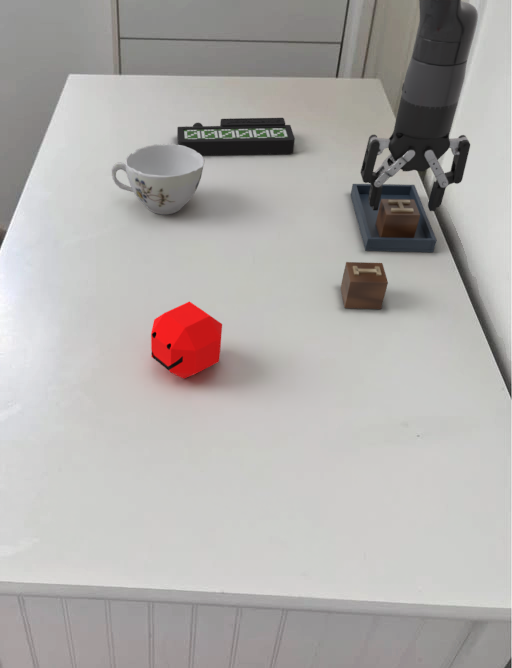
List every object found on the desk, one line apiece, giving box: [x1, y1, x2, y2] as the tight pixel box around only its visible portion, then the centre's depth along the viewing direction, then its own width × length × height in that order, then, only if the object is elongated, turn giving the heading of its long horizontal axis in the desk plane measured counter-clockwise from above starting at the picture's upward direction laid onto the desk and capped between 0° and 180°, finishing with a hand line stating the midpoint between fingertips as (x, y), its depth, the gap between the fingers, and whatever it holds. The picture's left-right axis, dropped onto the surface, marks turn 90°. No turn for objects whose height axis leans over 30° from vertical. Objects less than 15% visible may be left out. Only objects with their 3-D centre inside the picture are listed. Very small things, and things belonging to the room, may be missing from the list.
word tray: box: [350, 183, 437, 253], centre depth 114 cm, size 10×18×2 cm, turn 176°
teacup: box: [111, 143, 205, 216], centre depth 117 cm, size 15×12×8 cm
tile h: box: [376, 199, 420, 238], centre depth 110 cm, size 5×5×4 cm
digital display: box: [176, 117, 296, 157], centre depth 135 cm, size 21×3×10 cm
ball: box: [150, 301, 223, 380], centre depth 88 cm, size 8×8×8 cm
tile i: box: [340, 261, 389, 310], centre depth 99 cm, size 5×5×4 cm
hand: (402, 208), depth 109 cm, fingers open, 8 cm apart
